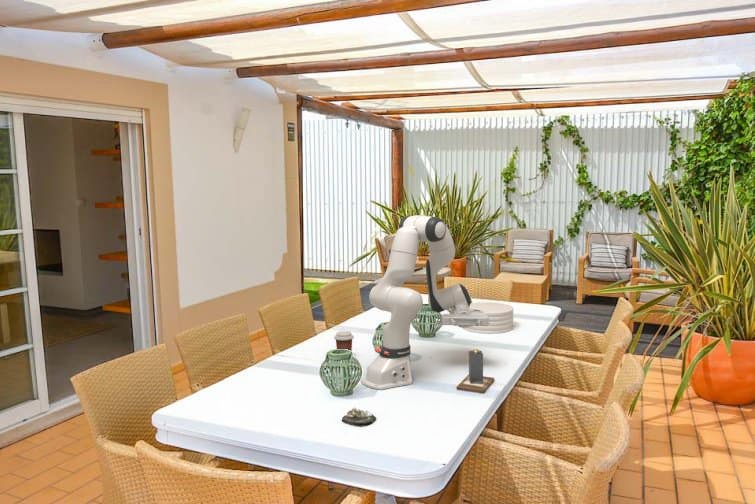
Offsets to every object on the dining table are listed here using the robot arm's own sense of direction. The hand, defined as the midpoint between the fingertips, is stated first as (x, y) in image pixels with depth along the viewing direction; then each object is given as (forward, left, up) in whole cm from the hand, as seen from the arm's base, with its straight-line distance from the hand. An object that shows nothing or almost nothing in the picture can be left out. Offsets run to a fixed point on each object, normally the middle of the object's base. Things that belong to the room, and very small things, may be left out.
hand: (466, 324), depth 250 cm
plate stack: (+66, +47, -22) cm, 83 cm away
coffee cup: (-27, +53, -22) cm, 63 cm away
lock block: (-8, -12, -20) cm, 25 cm away
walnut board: (-8, -12, -22) cm, 26 cm away
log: (-64, -10, -22) cm, 69 cm away
